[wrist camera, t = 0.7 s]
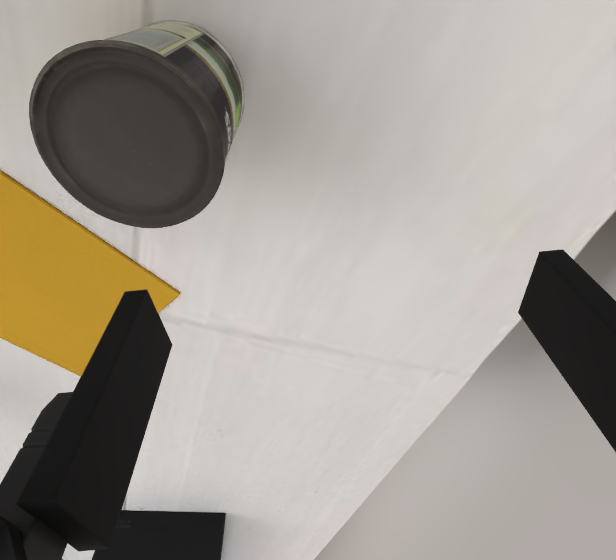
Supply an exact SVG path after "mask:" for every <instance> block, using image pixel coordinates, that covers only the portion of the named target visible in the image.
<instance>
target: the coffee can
mask: <svg viewBox="0 0 616 560" xmlns="http://www.w3.org/2000/svg"><path fill="white" fill-rule="evenodd" d="M243 107H244V90H243V84H242V80H241V76H240V73H239V71H238V68H237V66H236V64H235V62H234V61H233V59H232V57H231V56H230V54H229V53H228V52H227V50H226V49H225V48H224V47H223V46H222V44H221V43H220V42H218V41H217V40H216V39H215V38H214V37H213V36H212V35H210V34H209V33H207V32H206V31H204V30H203V29H201V28H199V27H197V26H194V25H191V24H188V23H185V22H179V21H162V22H157V23H153V24H151V25H148V26H146V27H145V28H141V29H138V30H135V31H132V32H128V33H125V34H122V35H118V36H115V37H111V38H108V39H105V40H96V41H88V42H84V43H80V44H76V45H74V46H71V47H69V48H66V49H64V50H63V51H61V52H60V53H58V54H57V55H55V56H54V57H53V58H52V59H51V60H49V61H48V62H47V63H46V65H45V66H44V67H43V68H42V70H41V71H40V73H39V75H38V77H37V79H36V81H35V83H34V86H33V89H32V92H31V97H30V103H29V118H30V125H31V131H32V134H33V138H34V141H35V144H36V146H37V149H38V151H39V154H40V155H41V157H42V159H43V161H44V163H45V164H46V166H47V167H48V169H49V170H50V172H51V173H52V175H53V176H54V177H55V178H56V180H57V181H58V182H59V183H60V184H61V185H62V186H63V187H64V188H65V189H66V190H67V191H68V192H69V193H70V194H71V195H72V196H73V197H74V198H75V199H76V200H78V201H79V202H80V203H82V204H83V205H84V206H86V207H87V208H89V209H91V210H92V211H94V212H95V213H97V214H99V215H101V216H103V217H106V218H108V219H110V220H113V221H116V222H119V223H122V224H126V225H130V226H135V227H141V228H162V227H168V226H172V225H176V224H179V223H182V222H184V221H186V220H188V219H191V218H192V217H194V216H195V215H197V214H198V213H200V212H201V211H202V210H203V209H204V208H205V207H206V206H207V205H208V204H209V203H210V201H211V200H212V198H213V197H214V196H215V194H216V192H217V190H218V188H219V185H220V183H221V180H222V176H223V172H224V166H225V161H226V158H227V155H228V152H229V149H230V146H231V144H232V140H233V137H234V134H235V131H236V128H237V127H238V125H239V123H240V120H241V117H242V113H243Z"/></svg>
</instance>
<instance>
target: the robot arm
mask: <svg viewBox="0 0 616 560" xmlns="http://www.w3.org/2000/svg"><path fill="white" fill-rule="evenodd" d="M518 313H519V314H520V316H521V317H522V319H523V320H524V321H525V323H526V324H527V326H528V327H529V328H530V330H531V331H532V333H533V334H534V336H535V337H536V339H537V340H538V341H539V343H540V344H541V346H542V347H543V348H544V350H545V352H546V353H547V354H548V356H549V357H550V359H551V360H552V362H553V363H554V364H555V366H556V367H557V369H558V370H559V372H560V373H561V374H562V376H563V377H564V379H565V380H566V382H567V383H568V384H569V386H570V387H571V389H572V390H573V392H574V393H575V395H576V396H577V397H578V399H579V400H580V402H581V403H582V405H583V406H584V407H585V409H586V410H587V412H588V413H589V415H590V416H591V417H592V419H593V420H594V422H595V423H596V425H597V426H598V427H599V429H600V430H601V432H602V433H603V434H604V436H605V437H606V439H607V440H608V442H609V443H610V444H611V446H612V447H613V449H614V450H615V452H616V301H615V300H614V299H613V298H612V297H611V296H610V295H609V294H608V293H607V292H606V291H605V290H604V289H603V288H601V286H600V285H599V284H597V282H595V281H594V280H593V279H592V278H591V277H590V276H589V275H588V274H587V273H586V272H585V271H584V270H583V269H582V268H581V267H580V266H579V265H578V264H577V263H576V262H575V261H574V260H573V259H572V258H571V257H570V256H569V255H568V254H567V253H566V252H565V251H564V250H553V251H543V252H539V255H538V258H537V260H536V263H535V266H534V269H533V272H532V275H531V277H530V280H529V283H528V286H527V289H526V292H525V294H524V297H523V300H522V303H521V306H520V309H519V311H518ZM171 347H172V343H171V341H170V339H169V337H168V334H167V332H166V330H165V328H164V325H163V323H162V321H161V319H160V317H159V314H158V312H157V310H156V308H155V305H154V303H153V301H152V299H151V297H150V294H149V292H148V290H147V289H146V290H135V291H125V292H124V294H123V296H122V298H121V300H120V302H119V304H118V306H117V308H116V310H115V312H114V313H113V315H112V317H111V319H110V321H109V323H108V325H107V327H106V329H105V331H104V333H103V335H102V337H101V339H100V341H99V343H98V345H97V347H96V349H95V351H94V353H93V355H92V356H91V358H90V360H89V362H88V364H87V366H86V368H85V370H84V372H83V374H82V376H81V378H80V380H79V382H78V384H77V386H76V388H75V390H74V392H68V393H58V394H57V395H56V396H55V397H54V399H53V400H52V401H51V402H50V403H49V404H48V405H47V406H46V407H45V408H44V409H43V410H42V411H41V413H40V415H39V417H38V418H37V420H36V422H35V424H34V426H33V427H32V432H31V433H29V434H28V436H27V438H26V440H25V442H24V443H23V448H22V449H20V450H19V452H18V454H17V456H16V458H15V459H14V461H13V463H12V465H11V466H10V468H9V470H8V472H7V474H6V475H5V477H4V479H3V481H2V482H1V484H0V560H63V559H62V556H63V553H64V551H65V548H66V545H67V543H68V544H70V545H71V546H72V547H74V548H75V549H76V550H78V551H87V550H98V549H109V548H110V545H111V542H112V539H113V535H114V532H115V529H116V526H117V522H118V519H119V516H120V513H121V509H122V506H123V503H124V500H125V496H126V493H127V490H128V487H129V483H130V480H131V477H132V474H133V470H134V467H135V464H136V461H137V457H138V454H139V451H140V448H141V444H142V441H143V438H144V435H145V431H146V428H147V425H148V422H149V418H150V415H151V412H152V409H153V405H154V402H155V399H156V396H157V392H158V389H159V386H160V383H161V379H162V376H163V373H164V370H165V366H166V363H167V360H168V357H169V353H170V350H171Z"/></svg>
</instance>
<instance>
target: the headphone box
mask: <svg viewBox="0 0 616 560" xmlns="http://www.w3.org/2000/svg"><path fill="white" fill-rule="evenodd" d="M225 516H226V514H225V513H186V512H142V511H121V513H120V516H119V519H118V522H117V526H116V529H115V532H114V535H113V539H112V542H111V545H110V548H109V549H98V550H95V552H94V555H93V558H92V560H221V552H222V543H223V534H224V525H225Z"/></svg>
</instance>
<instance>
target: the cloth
mask: <svg viewBox="0 0 616 560" xmlns="http://www.w3.org/2000/svg"><path fill="white" fill-rule="evenodd" d="M146 289H147V290H148V292H149V294H150V297H151V299H152V301H153V303H154V305H155V308H156V310H157V312H158V313H159V312H160V311H161V310H162V309H164V308H165V307H166V306H167V305H168V304H170V303H171V302H172V301H173V300H174V299H175V298H177V297H178V296H179V295H180V292H178V291H177V290H175V289H174V288H172V287H171V286H170V285H168V284H167V283H165V282H164V281H162V280H161V279H159V278H158V277H156V276H155V275H153V274H152V273H150V272H149V271H147V270H146V269H145V268H143V267H142V266H140V265H139V264H137V263H136V262H134V261H133V260H131V259H130V258H128V257H127V256H125V255H124V254H122V253H121V252H119V251H118V250H117V249H115V248H114V247H112V246H111V245H109V244H108V243H106V242H105V241H103V240H102V239H100V238H99V237H97V236H96V235H94V234H93V233H91V232H90V231H89V230H87V229H86V228H84V227H83V226H81V225H80V224H78V223H77V222H75V221H74V220H72V219H71V218H69V217H68V216H66V215H65V214H63V213H62V212H61V211H59V210H58V209H56V208H55V207H53V206H52V205H50V204H49V203H47V202H46V201H44V200H43V199H41V198H40V197H38V196H37V195H36V194H34V193H33V192H31V191H30V190H28V189H27V188H25V187H24V186H22V185H21V184H19V183H18V182H16V181H15V180H13V179H12V178H10V177H9V176H8V175H6V174H5V173H3V172H2V171H0V338H2V339H4V340H6V341H8V342H10V343H12V344H14V345H16V346H19V347H21V348H23V349H25V350H27V351H29V352H31V353H33V354H35V355H37V356H39V357H42V358H44V359H46V360H48V361H50V362H52V363H54V364H56V365H58V366H60V367H63V368H65V369H67V370H69V371H71V372H73V373H75V374H77V375H79V376H82V374H83V372H84V370H85V368H86V366H87V364H88V362H89V360H90V358H91V356H92V355H93V353H94V351H95V349H96V347H97V345H98V343H99V341H100V339H101V337H102V335H103V333H104V331H105V329H106V327H107V325H108V323H109V321H110V319H111V317H112V315H113V313H114V312H115V310H116V308H117V306H118V304H119V302H120V300H121V298H122V296H123V294H124V292H125V291H135V290H146Z"/></svg>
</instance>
